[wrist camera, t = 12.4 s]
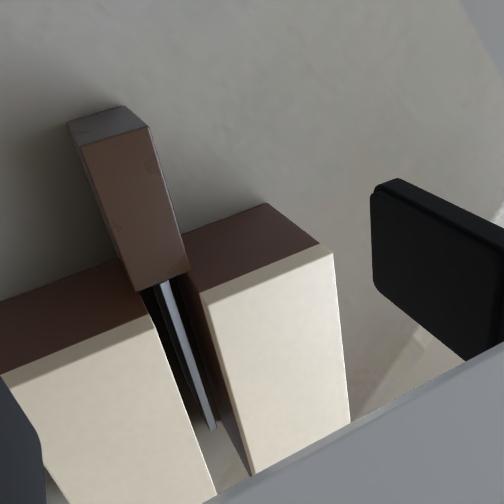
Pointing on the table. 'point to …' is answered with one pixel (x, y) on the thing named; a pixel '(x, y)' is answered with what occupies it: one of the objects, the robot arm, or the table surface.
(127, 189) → the knife
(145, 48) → the table surface
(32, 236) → the table surface
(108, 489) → the cake
